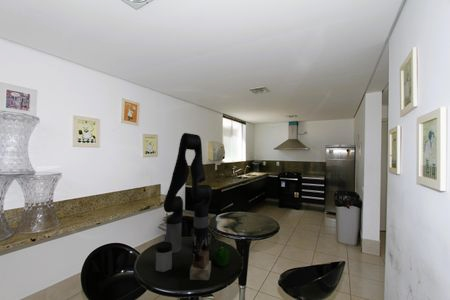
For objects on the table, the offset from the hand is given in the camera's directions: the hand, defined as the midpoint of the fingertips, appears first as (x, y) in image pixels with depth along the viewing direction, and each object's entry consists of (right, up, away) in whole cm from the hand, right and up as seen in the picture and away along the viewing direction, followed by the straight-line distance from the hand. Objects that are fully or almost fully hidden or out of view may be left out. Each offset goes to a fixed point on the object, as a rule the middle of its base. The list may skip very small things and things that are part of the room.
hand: (200, 257), depth 107 cm
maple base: (0, -9, 0) cm, 9 cm away
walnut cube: (0, -4, 0) cm, 4 cm away
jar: (-20, -9, +6) cm, 23 cm away
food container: (-2, -9, +31) cm, 32 cm away
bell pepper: (+11, -9, +10) cm, 17 cm away
